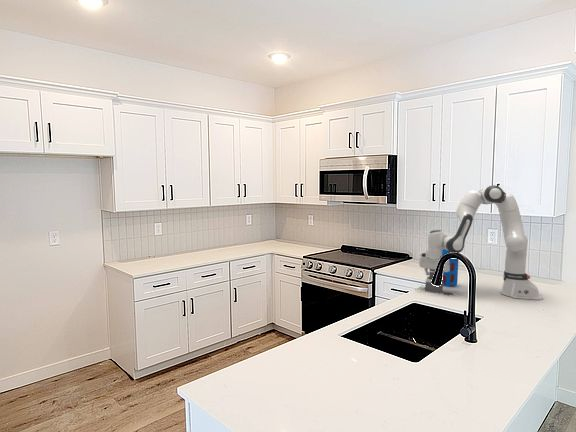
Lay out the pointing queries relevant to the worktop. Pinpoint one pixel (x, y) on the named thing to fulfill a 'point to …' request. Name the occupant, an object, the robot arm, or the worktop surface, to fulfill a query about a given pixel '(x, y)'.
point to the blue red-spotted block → (450, 272)
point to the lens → (431, 273)
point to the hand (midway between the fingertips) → (433, 276)
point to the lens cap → (448, 293)
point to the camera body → (432, 288)
